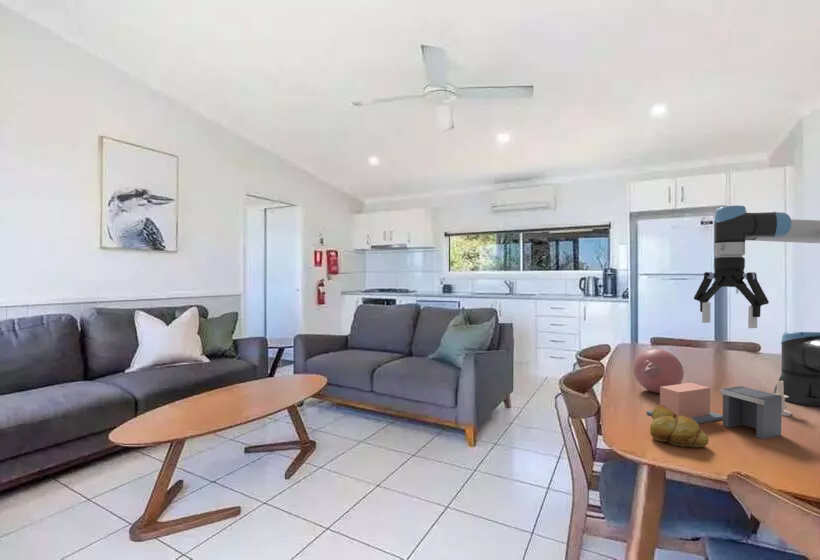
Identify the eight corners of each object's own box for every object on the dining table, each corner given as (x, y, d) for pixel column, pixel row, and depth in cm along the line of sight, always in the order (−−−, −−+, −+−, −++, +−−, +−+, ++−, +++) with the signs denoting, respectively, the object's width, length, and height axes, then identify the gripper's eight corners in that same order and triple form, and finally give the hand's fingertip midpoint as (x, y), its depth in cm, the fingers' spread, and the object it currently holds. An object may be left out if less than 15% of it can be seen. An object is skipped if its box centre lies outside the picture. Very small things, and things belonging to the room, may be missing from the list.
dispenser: (739, 421, 121) (740, 385, 120) (782, 435, 111) (782, 396, 110) (719, 425, 118) (720, 388, 117) (761, 439, 108) (762, 399, 108)
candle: (766, 412, 128) (767, 378, 128) (770, 408, 132) (771, 376, 131) (789, 417, 124) (790, 382, 124) (792, 413, 128) (793, 379, 127)
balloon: (619, 393, 148) (620, 350, 148) (644, 384, 160) (644, 344, 160) (667, 404, 136) (668, 357, 136) (690, 393, 148) (690, 350, 148)
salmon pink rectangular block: (690, 408, 130) (690, 382, 130) (709, 414, 125) (710, 387, 124) (659, 413, 126) (660, 386, 126) (678, 419, 120) (678, 392, 120)
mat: (688, 407, 134) (688, 404, 134) (724, 418, 123) (724, 415, 123) (646, 414, 127) (646, 411, 127) (680, 426, 117) (680, 423, 117)
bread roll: (712, 445, 105) (712, 413, 105) (701, 456, 99) (702, 423, 98) (655, 430, 115) (656, 401, 115) (642, 440, 108) (643, 409, 108)
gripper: (682, 257, 139) (681, 321, 140) (767, 255, 116) (766, 331, 116) (697, 257, 142) (697, 320, 142) (784, 255, 118) (783, 329, 119)
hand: (728, 325), depth 129 cm, fingers open, 13 cm apart
